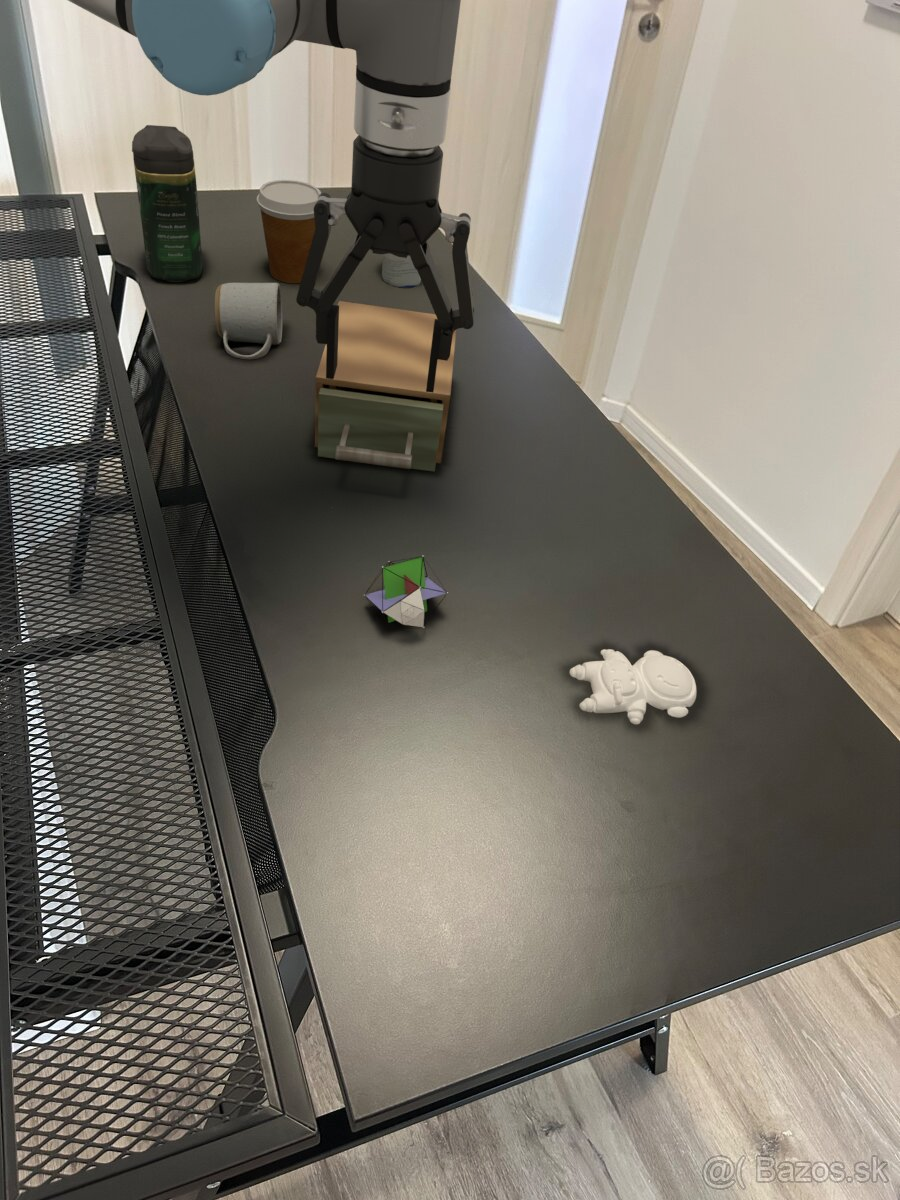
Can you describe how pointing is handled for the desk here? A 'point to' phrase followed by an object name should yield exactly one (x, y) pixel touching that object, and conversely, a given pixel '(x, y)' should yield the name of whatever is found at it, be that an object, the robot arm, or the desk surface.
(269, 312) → the ceramic mug
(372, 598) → the geometric puzzle
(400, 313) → the cabinet
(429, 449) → the drawer
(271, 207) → the disposable coffee cup
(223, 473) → the desk surface
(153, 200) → the coffee jar
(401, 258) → the spray paint can
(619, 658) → the astronaut figurine
